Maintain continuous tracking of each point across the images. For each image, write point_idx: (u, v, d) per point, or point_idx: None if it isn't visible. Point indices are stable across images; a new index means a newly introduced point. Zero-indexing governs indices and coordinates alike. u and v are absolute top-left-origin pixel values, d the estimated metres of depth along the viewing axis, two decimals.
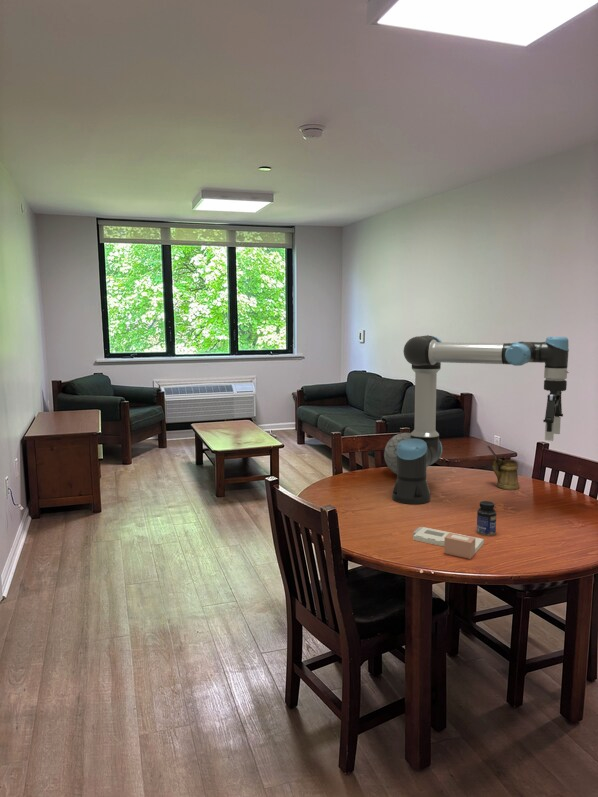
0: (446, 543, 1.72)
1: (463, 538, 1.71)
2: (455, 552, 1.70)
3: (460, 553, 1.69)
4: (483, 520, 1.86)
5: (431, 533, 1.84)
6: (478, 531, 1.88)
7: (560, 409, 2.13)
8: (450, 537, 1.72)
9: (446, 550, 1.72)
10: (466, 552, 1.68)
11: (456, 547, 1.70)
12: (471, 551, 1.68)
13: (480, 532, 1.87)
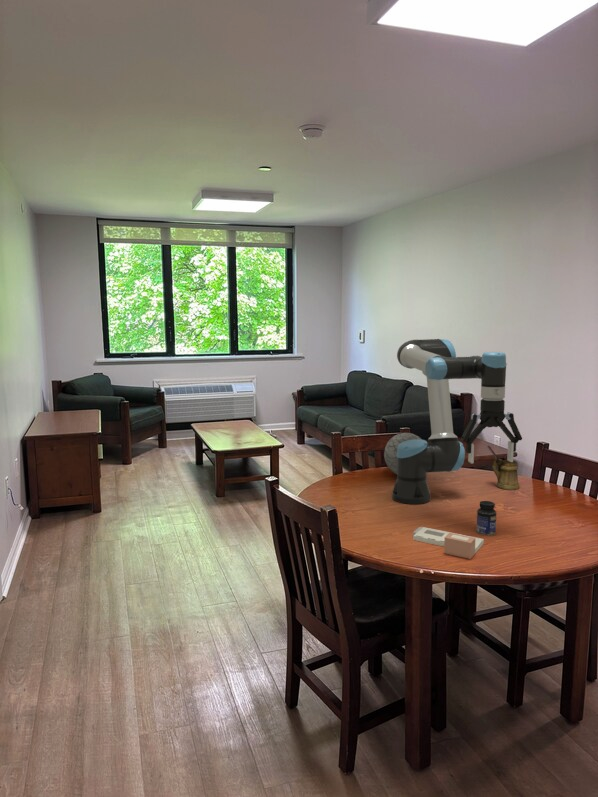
0: (446, 543, 1.72)
1: (463, 538, 1.71)
2: (455, 552, 1.70)
3: (460, 553, 1.69)
4: (483, 520, 1.86)
5: (431, 533, 1.84)
6: (478, 531, 1.88)
7: (516, 434, 1.88)
8: (450, 537, 1.72)
9: (446, 550, 1.72)
10: (466, 552, 1.68)
11: (456, 547, 1.70)
12: (471, 551, 1.68)
13: (480, 532, 1.87)
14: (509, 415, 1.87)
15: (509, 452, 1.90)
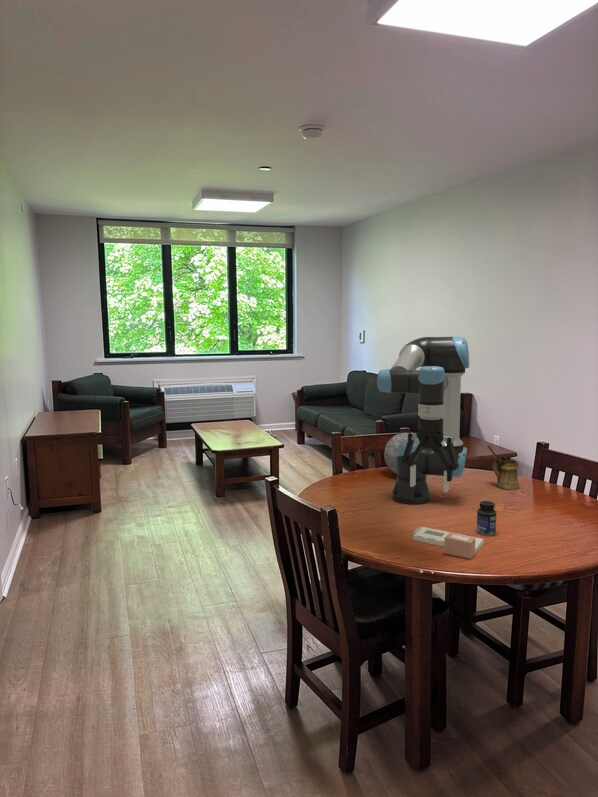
0: (446, 543, 1.72)
1: (463, 538, 1.71)
2: (455, 552, 1.70)
3: (460, 553, 1.69)
4: (483, 520, 1.86)
5: (431, 533, 1.84)
6: (478, 531, 1.88)
7: (451, 462, 1.69)
8: (450, 537, 1.72)
9: (446, 550, 1.72)
10: (466, 552, 1.68)
11: (456, 547, 1.70)
12: (471, 551, 1.68)
13: (480, 532, 1.87)
14: (447, 439, 1.69)
15: None
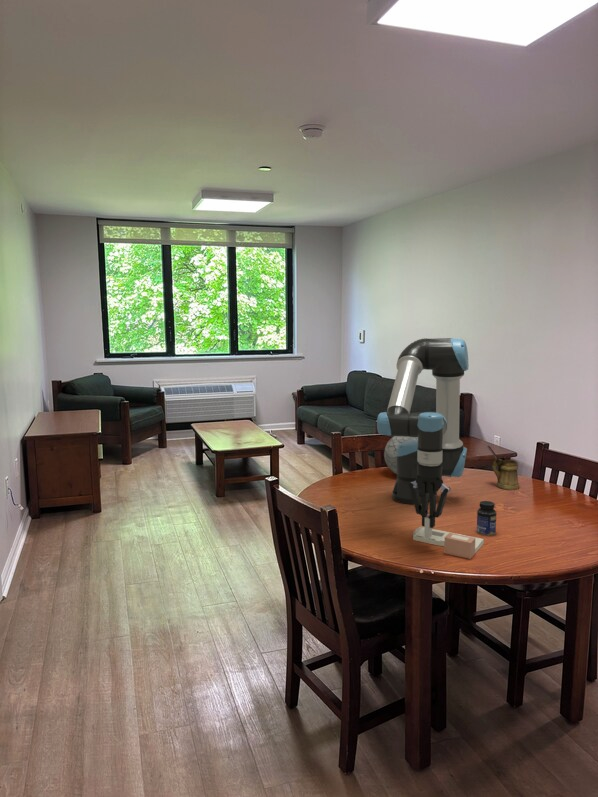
0: (446, 543, 1.72)
1: (463, 538, 1.71)
2: (455, 552, 1.70)
3: (460, 553, 1.69)
4: (483, 520, 1.86)
5: None
6: (478, 531, 1.88)
7: None
8: (450, 537, 1.72)
9: (446, 550, 1.72)
10: (466, 552, 1.68)
11: (456, 547, 1.70)
12: (471, 551, 1.68)
13: (480, 532, 1.87)
14: (444, 489, 1.71)
15: None
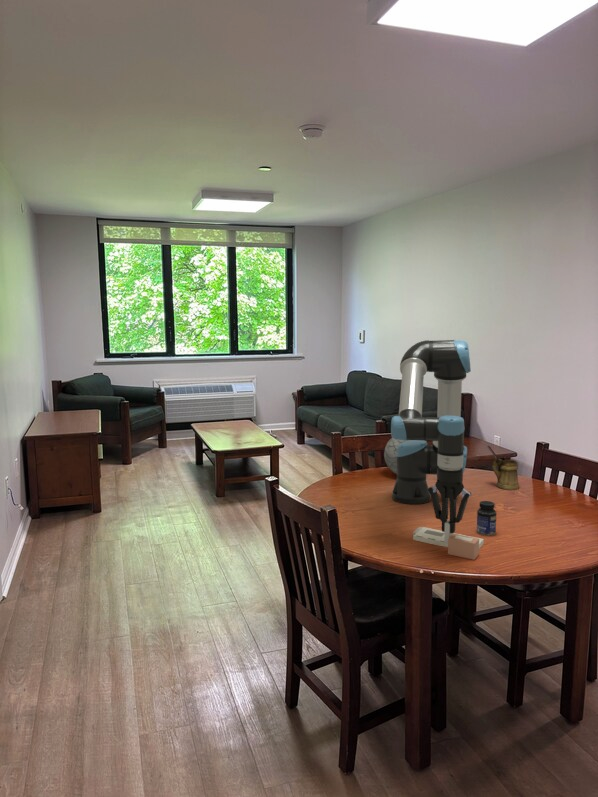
0: (450, 544, 1.71)
1: (467, 539, 1.70)
2: (459, 553, 1.70)
3: (464, 554, 1.69)
4: (483, 520, 1.86)
5: (431, 533, 1.84)
6: (478, 531, 1.88)
7: (457, 514, 1.70)
8: (454, 537, 1.71)
9: (450, 551, 1.71)
10: (469, 553, 1.68)
11: (459, 547, 1.69)
12: (475, 552, 1.68)
13: (480, 532, 1.87)
14: (465, 494, 1.68)
15: None
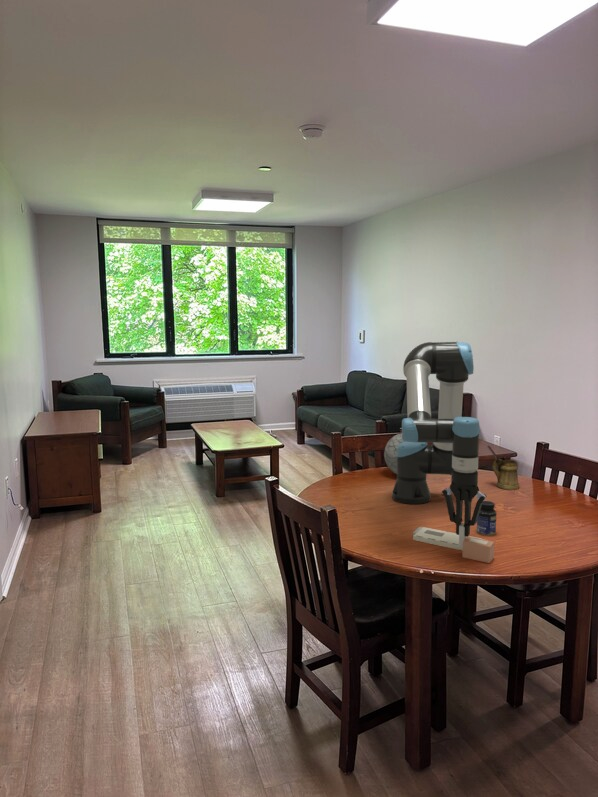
0: (464, 547, 1.69)
1: (482, 542, 1.67)
2: (474, 556, 1.67)
3: (479, 558, 1.66)
4: (483, 520, 1.86)
5: (431, 533, 1.84)
6: (478, 531, 1.88)
7: (472, 517, 1.67)
8: (468, 540, 1.69)
9: (464, 554, 1.69)
10: (485, 556, 1.65)
11: (474, 551, 1.67)
12: (490, 555, 1.65)
13: (480, 532, 1.87)
14: (480, 496, 1.65)
15: None
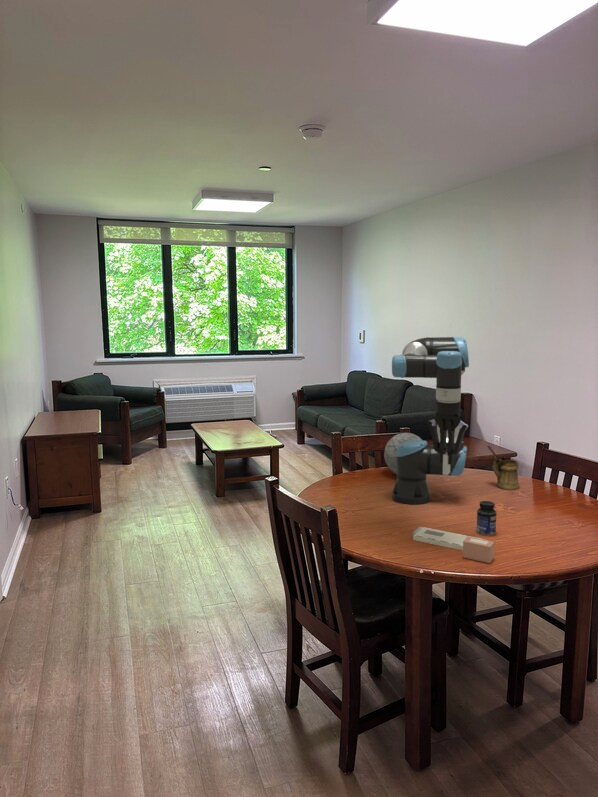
0: (465, 547, 1.68)
1: (482, 542, 1.67)
2: (474, 556, 1.67)
3: (479, 558, 1.66)
4: (483, 520, 1.86)
5: (431, 533, 1.84)
6: (478, 531, 1.88)
7: (455, 446, 1.77)
8: (469, 540, 1.69)
9: (465, 554, 1.69)
10: (485, 556, 1.65)
11: (474, 551, 1.67)
12: (490, 555, 1.65)
13: (480, 532, 1.87)
14: (463, 425, 1.74)
15: None
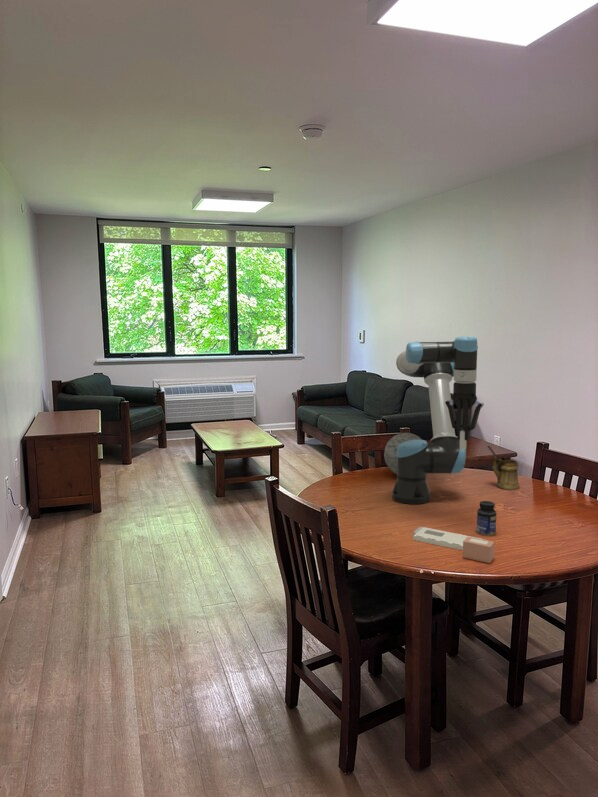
0: (465, 547, 1.68)
1: (482, 542, 1.67)
2: (474, 556, 1.67)
3: (479, 558, 1.66)
4: (483, 520, 1.86)
5: (431, 533, 1.84)
6: (478, 531, 1.88)
7: (471, 423, 1.94)
8: (469, 540, 1.69)
9: (465, 554, 1.69)
10: (485, 556, 1.65)
11: (474, 551, 1.67)
12: (490, 555, 1.65)
13: (480, 532, 1.87)
14: (478, 404, 1.92)
15: None
